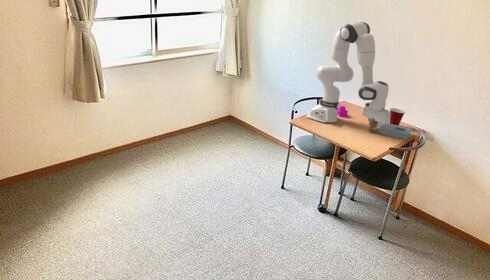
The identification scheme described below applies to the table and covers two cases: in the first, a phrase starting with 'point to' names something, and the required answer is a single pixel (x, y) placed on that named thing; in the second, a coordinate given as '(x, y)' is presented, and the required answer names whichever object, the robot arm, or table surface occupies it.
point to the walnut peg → (373, 126)
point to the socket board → (395, 131)
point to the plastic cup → (396, 116)
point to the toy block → (342, 111)
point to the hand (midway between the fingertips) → (373, 126)
